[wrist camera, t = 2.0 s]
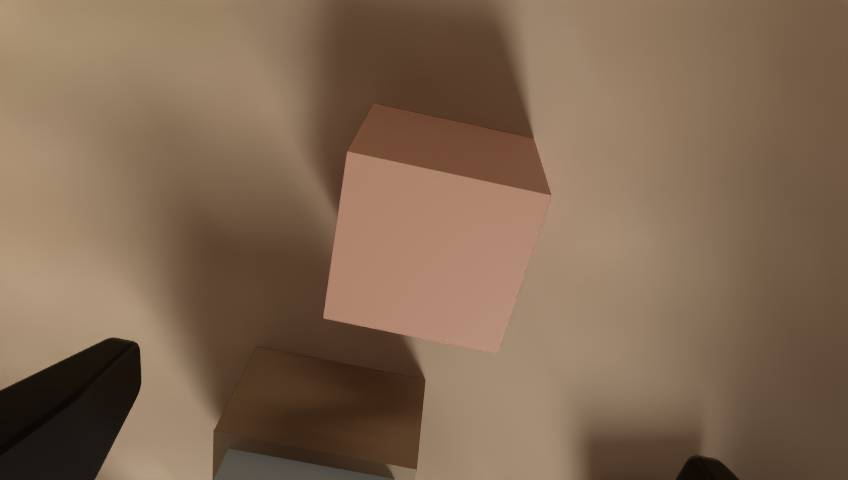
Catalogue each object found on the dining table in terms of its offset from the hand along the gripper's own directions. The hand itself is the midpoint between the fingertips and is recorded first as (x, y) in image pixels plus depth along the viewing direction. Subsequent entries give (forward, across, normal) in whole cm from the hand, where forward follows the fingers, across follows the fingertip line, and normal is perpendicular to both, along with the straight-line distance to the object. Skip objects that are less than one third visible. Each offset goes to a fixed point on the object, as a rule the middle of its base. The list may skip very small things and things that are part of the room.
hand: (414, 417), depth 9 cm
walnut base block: (+9, +2, +10) cm, 13 cm away
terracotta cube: (+9, 0, 0) cm, 9 cm away
